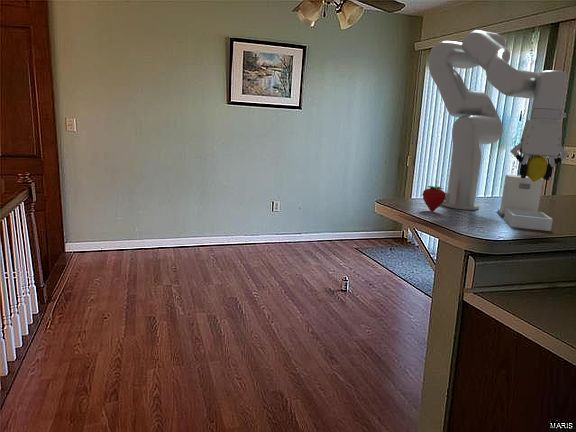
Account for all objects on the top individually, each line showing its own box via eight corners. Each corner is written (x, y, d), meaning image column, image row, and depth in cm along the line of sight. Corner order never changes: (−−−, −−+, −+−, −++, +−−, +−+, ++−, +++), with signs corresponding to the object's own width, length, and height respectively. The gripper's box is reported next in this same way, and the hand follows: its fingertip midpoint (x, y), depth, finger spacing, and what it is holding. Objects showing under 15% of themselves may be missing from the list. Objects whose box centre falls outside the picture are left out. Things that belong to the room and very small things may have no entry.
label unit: (501, 217, 148) (507, 176, 145) (497, 213, 155) (503, 174, 152) (538, 221, 146) (546, 179, 143) (532, 216, 152) (539, 177, 150)
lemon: (537, 181, 139) (541, 154, 137) (548, 183, 134) (553, 156, 132) (519, 180, 139) (524, 153, 137) (530, 182, 133) (534, 155, 131)
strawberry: (425, 208, 156) (429, 178, 154) (446, 212, 152) (450, 182, 149) (417, 210, 152) (420, 180, 150) (438, 214, 147) (442, 183, 145)
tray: (510, 226, 135) (512, 215, 134) (503, 219, 145) (505, 208, 144) (550, 231, 133) (552, 219, 132) (540, 223, 143) (542, 212, 142)
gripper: (574, 117, 134) (562, 179, 137) (510, 114, 137) (500, 174, 141) (583, 117, 126) (570, 183, 130) (515, 114, 130) (505, 177, 134)
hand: (534, 178), depth 136 cm, fingers closed on lemon, 5 cm apart
